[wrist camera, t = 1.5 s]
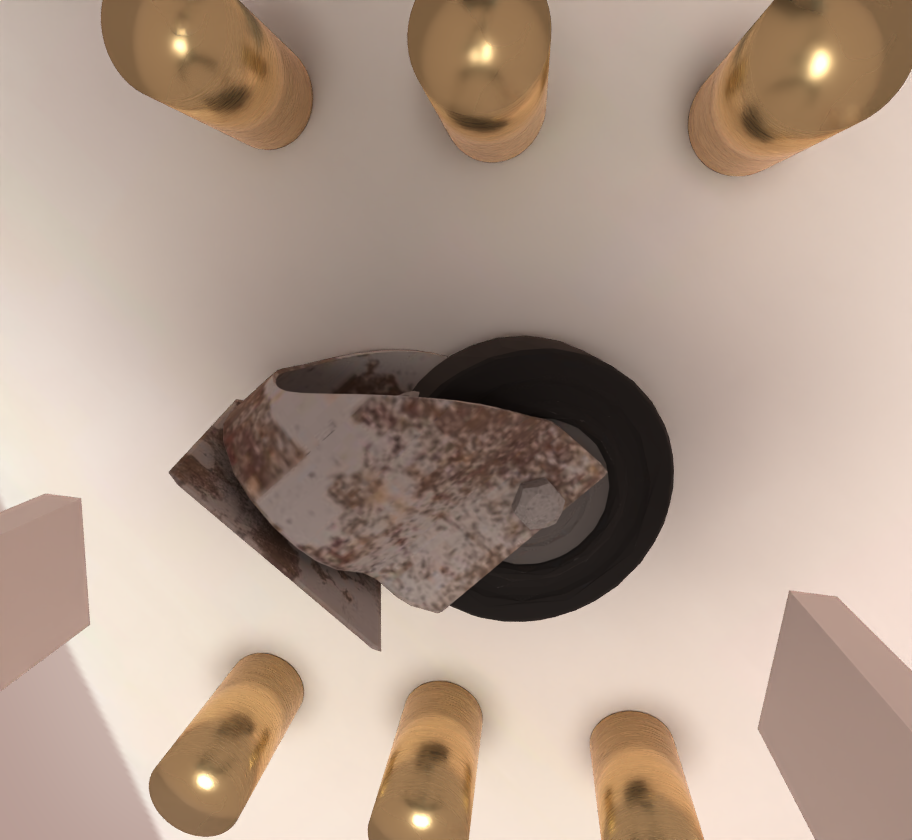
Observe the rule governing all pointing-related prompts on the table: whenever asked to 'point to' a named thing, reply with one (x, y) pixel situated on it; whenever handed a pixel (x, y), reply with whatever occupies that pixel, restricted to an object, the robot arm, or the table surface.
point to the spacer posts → (489, 140)
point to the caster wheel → (442, 479)
